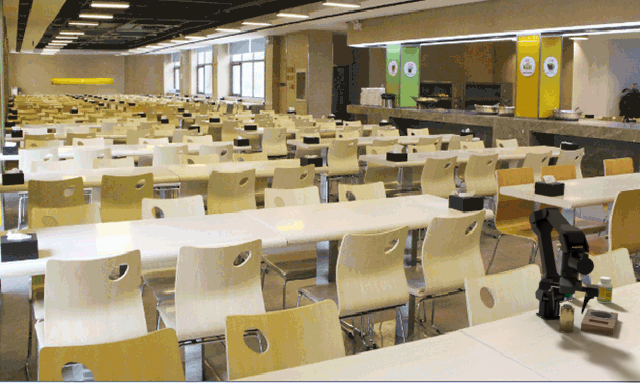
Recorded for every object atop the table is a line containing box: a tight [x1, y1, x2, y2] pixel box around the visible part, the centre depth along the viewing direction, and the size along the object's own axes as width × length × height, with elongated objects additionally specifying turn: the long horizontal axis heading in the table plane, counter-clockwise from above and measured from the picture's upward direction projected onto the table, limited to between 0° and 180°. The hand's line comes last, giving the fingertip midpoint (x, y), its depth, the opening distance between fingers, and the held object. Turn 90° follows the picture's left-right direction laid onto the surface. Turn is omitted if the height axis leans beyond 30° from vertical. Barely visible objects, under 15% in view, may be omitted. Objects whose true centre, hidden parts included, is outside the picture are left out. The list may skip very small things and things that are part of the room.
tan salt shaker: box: [558, 303, 576, 334], centre depth 217 cm, size 4×4×9 cm
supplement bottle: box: [596, 276, 613, 304], centre depth 249 cm, size 5×5×10 cm
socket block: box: [580, 308, 619, 336], centre depth 223 cm, size 18×10×2 cm, turn 151°
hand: (567, 312), depth 217 cm, fingers open, 9 cm apart
